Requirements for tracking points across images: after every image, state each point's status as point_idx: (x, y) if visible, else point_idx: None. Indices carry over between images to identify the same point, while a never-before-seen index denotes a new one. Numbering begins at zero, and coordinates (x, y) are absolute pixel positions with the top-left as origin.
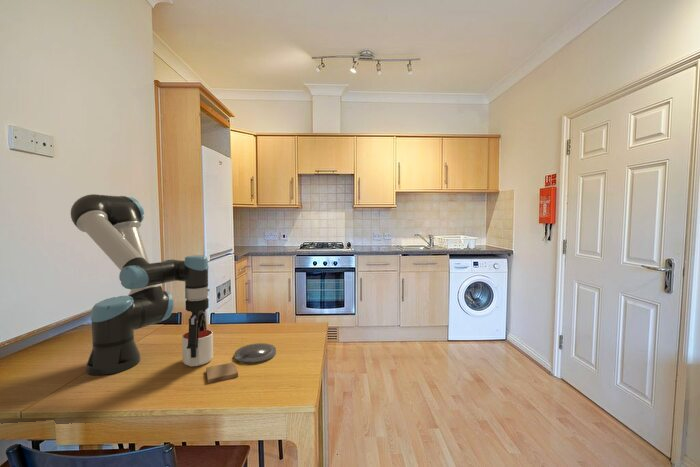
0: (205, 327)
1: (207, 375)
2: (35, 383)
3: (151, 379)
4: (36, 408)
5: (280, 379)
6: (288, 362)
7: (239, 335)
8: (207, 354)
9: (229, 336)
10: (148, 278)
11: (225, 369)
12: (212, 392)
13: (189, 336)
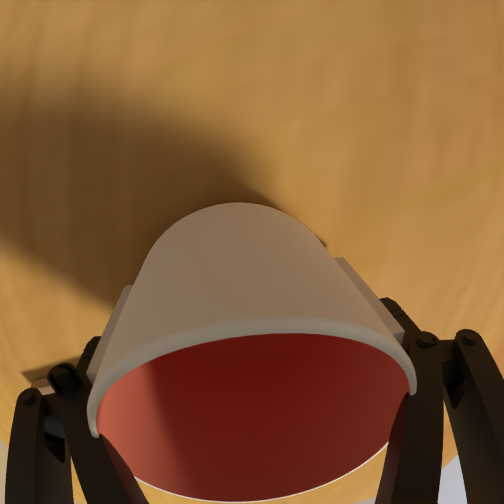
0: (448, 412)
1: (49, 386)
2: None
3: (14, 118)
4: None
5: None
6: (204, 501)
7: (488, 344)
8: (188, 388)
9: (500, 311)
10: None
11: None
12: (3, 393)
13: (13, 477)
